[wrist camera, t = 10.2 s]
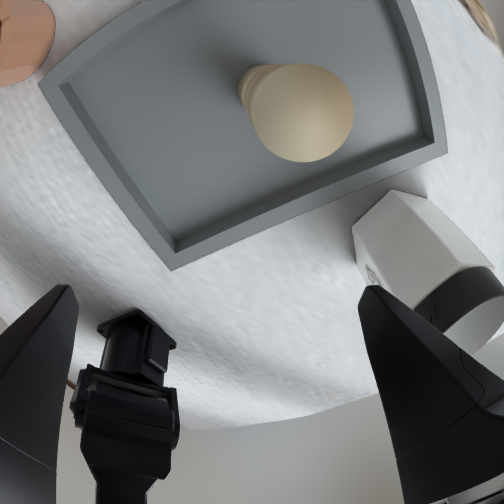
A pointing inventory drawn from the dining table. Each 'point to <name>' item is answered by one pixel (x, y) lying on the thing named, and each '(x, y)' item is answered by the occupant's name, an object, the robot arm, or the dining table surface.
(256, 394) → the dining table surface
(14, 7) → the cup
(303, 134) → the pin
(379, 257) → the jar
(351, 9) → the tray
